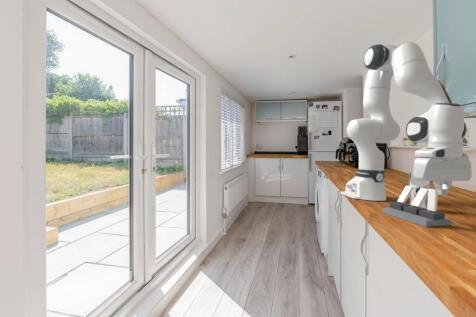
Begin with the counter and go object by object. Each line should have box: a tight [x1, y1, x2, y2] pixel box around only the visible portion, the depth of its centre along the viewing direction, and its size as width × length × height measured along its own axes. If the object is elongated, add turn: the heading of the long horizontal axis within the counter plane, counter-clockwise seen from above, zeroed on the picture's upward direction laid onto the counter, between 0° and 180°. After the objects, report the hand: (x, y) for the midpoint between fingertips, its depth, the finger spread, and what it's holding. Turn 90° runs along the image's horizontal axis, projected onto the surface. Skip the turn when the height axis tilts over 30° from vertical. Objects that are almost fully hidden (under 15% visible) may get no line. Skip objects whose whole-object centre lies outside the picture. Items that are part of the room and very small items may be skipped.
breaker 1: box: [397, 185, 413, 204], centre depth 93 cm, size 2×1×7 cm
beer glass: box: [407, 171, 431, 209], centre depth 102 cm, size 7×7×15 cm
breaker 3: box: [426, 188, 439, 212], centre depth 81 cm, size 2×1×7 cm, turn 13°
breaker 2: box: [412, 188, 428, 208], centre depth 88 cm, size 2×1×7 cm
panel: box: [382, 201, 452, 228], centre depth 87 cm, size 17×10×4 cm, turn 13°
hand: (441, 194), depth 82 cm, fingers closed
